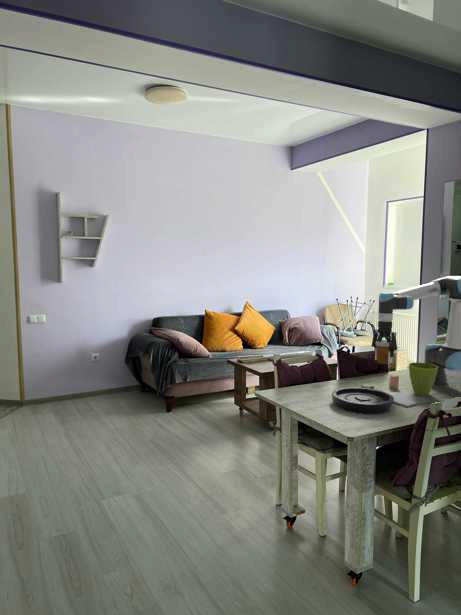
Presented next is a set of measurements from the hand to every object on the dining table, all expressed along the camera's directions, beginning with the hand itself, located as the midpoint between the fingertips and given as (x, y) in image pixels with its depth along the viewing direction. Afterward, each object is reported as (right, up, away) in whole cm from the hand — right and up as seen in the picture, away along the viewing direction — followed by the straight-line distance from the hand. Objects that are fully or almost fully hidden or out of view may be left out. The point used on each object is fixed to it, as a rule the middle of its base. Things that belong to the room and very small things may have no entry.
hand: (383, 361), depth 264 cm
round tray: (-19, -20, -25) cm, 37 cm away
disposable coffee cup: (0, -1, 0) cm, 1 cm away
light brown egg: (+9, -16, +9) cm, 21 cm away
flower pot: (+20, -18, -2) cm, 27 cm away
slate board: (+6, -19, -15) cm, 25 cm away
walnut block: (-11, -18, -5) cm, 21 cm away
